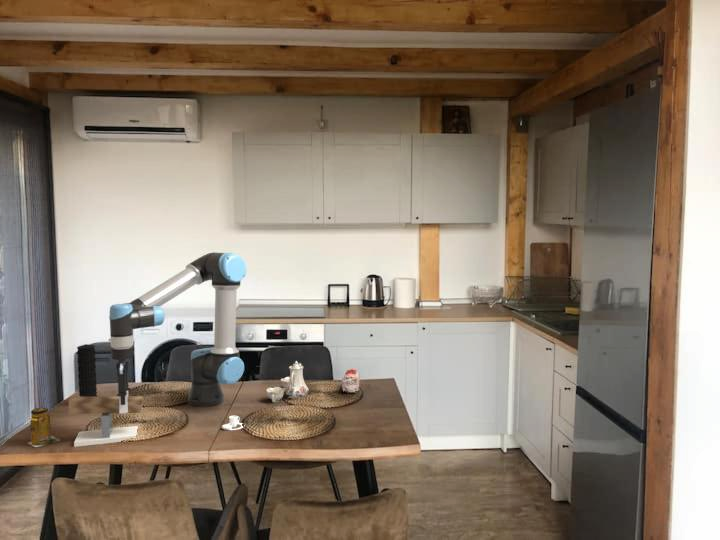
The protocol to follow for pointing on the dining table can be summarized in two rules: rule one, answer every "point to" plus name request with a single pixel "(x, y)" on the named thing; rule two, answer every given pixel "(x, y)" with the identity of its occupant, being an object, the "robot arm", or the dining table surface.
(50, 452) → the dining table surface
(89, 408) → the walnut batten
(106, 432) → the steel ridge
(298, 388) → the chinaware
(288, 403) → the dining table surface
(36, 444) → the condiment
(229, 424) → the teacup and saucer
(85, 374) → the handle grip
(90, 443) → the white board
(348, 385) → the food item
